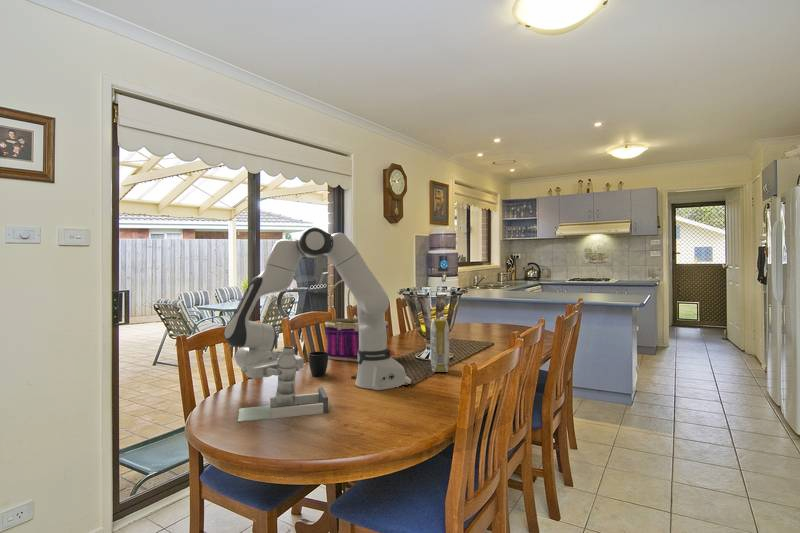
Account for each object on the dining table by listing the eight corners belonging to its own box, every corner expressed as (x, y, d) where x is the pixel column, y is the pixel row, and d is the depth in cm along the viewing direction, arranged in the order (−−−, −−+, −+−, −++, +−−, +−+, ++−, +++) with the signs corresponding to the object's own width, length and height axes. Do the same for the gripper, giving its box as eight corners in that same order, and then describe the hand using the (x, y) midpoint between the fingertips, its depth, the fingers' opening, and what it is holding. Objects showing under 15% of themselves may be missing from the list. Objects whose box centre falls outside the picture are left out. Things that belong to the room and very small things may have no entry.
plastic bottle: (290, 410, 149) (294, 351, 147) (271, 407, 150) (274, 349, 148) (298, 403, 156) (301, 346, 153) (279, 400, 157) (282, 343, 154)
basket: (392, 355, 233) (391, 277, 231) (376, 364, 214) (375, 279, 213) (338, 351, 244) (337, 276, 243) (319, 359, 226) (318, 278, 224)
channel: (322, 400, 162) (322, 386, 162) (328, 412, 150) (328, 397, 150) (270, 406, 156) (270, 391, 156) (271, 418, 144) (271, 403, 144)
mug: (334, 371, 203) (334, 349, 203) (323, 378, 191) (323, 355, 191) (317, 370, 205) (316, 349, 204) (305, 377, 193) (305, 354, 193)
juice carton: (449, 373, 197) (449, 318, 196) (431, 373, 197) (431, 318, 197) (447, 368, 206) (447, 315, 206) (430, 368, 207) (430, 315, 206)
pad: (270, 406, 156) (270, 405, 156) (271, 418, 145) (271, 417, 145) (239, 409, 153) (239, 408, 153) (237, 422, 142) (237, 420, 142)
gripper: (237, 360, 153) (259, 367, 143) (290, 350, 168) (313, 356, 158) (238, 378, 153) (260, 386, 143) (290, 367, 168) (313, 374, 158)
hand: (288, 370), depth 151 cm, fingers closed on plastic bottle, 6 cm apart
